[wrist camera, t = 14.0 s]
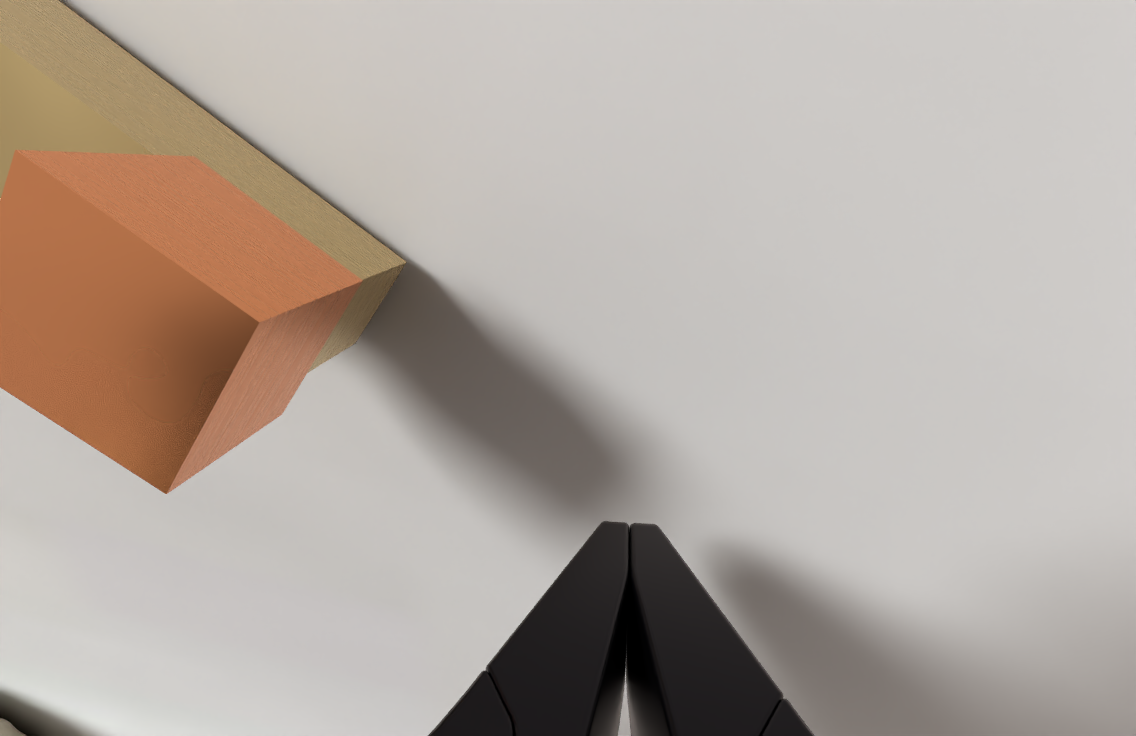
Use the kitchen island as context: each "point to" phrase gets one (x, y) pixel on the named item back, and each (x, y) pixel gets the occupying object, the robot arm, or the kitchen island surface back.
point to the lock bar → (156, 257)
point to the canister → (8, 729)
